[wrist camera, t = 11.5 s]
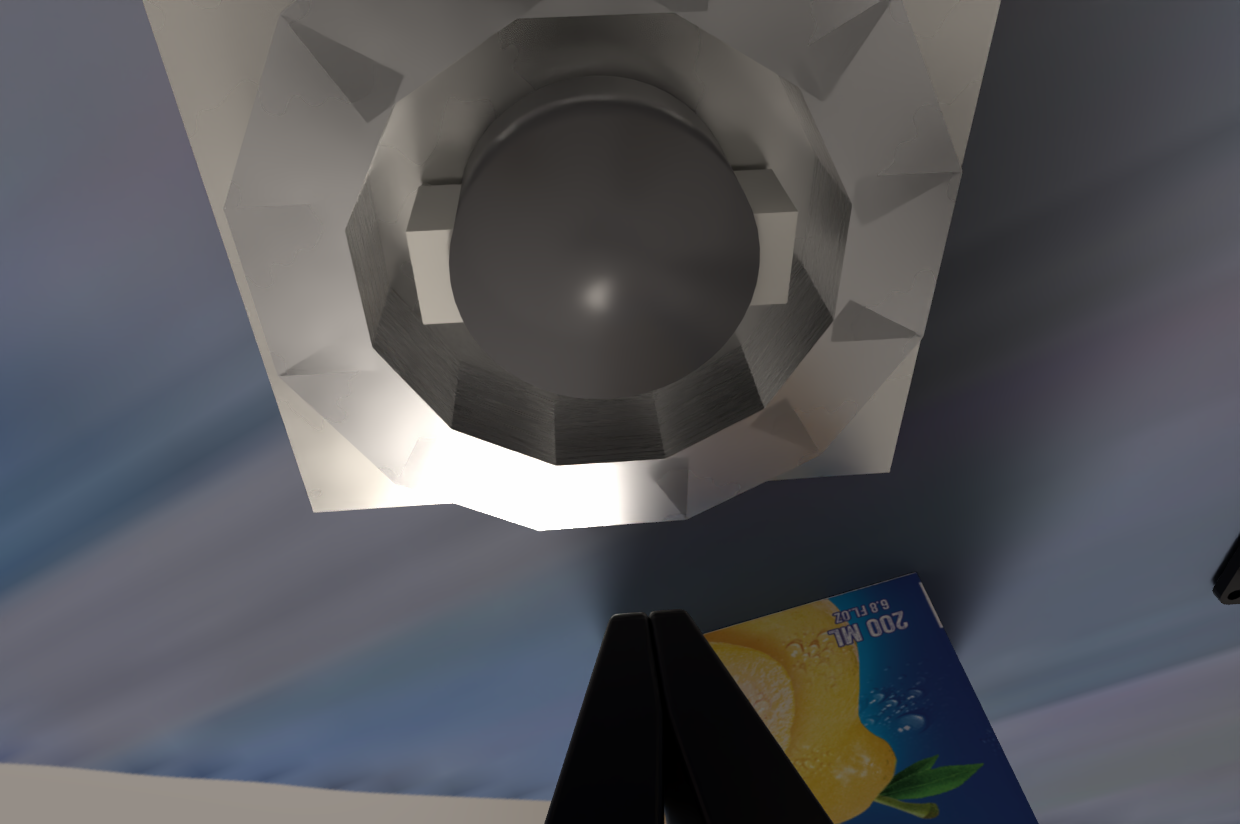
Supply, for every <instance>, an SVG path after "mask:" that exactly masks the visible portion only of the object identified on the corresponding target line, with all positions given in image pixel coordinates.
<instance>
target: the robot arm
mask: <svg viewBox="0 0 1240 824" xmlns="http://www.w3.org/2000/svg"><path fill="white" fill-rule="evenodd" d="M1212 591H1213V594H1214V595H1215V596H1216V597H1217V598H1218V600H1219V601H1220V602H1221V603H1223V604H1228V605H1230V604H1240V545H1239V547H1238V548H1237V550H1236V552H1235V553H1234V555H1233V556H1232V558H1231V560H1230V561H1229V563H1228V565H1227V566H1226V568H1225V569H1224V571H1223V573H1222V574H1221V576H1220V577H1219V579H1218V581H1217V582H1216V584H1215V586H1214V587H1213V590H1212ZM664 813H665V818H666V823H667V824H834V823H833V822H832V820H831V819H830V817H829V816H828V814H827V813H826V811H825V810H824V809H823V807H822V806H821V804H820V803H819V801H818V800H817V798H816V797H815V796H814V794H813V793H812V791H811V790H810V788H809V787H808V785H807V784H806V783H805V781H804V780H803V778H802V777H801V775H800V774H799V772H798V771H797V770H796V768H795V767H794V765H793V764H792V762H791V761H790V759H789V758H788V757H787V755H786V754H785V752H784V751H783V749H782V748H781V746H780V745H779V744H778V742H777V741H776V739H775V738H774V736H773V735H772V733H771V732H770V731H769V729H768V728H767V726H766V725H765V723H764V722H763V720H762V719H761V718H760V716H759V715H758V713H757V712H756V710H755V709H754V707H753V706H752V705H751V703H750V702H749V700H748V699H747V697H746V696H745V694H744V693H743V692H742V690H741V689H740V687H739V686H738V684H737V683H736V681H735V680H734V679H733V677H732V676H731V674H730V673H729V671H728V670H727V668H726V667H725V666H724V664H723V663H722V661H721V660H720V658H719V657H718V655H717V654H716V653H715V651H714V650H713V648H712V647H711V645H710V644H709V642H708V641H707V639H706V638H705V637H704V635H703V634H702V632H701V631H700V629H699V628H698V626H697V625H696V624H695V622H694V621H693V619H692V618H691V616H690V615H689V614H688V613H687V612H686V611H685V610H682V609H672V610H660V611H653V612H651V613H650V615H649V617H648V616H647V615H646V614H645V613H643V612H635V613H623V614H615V615H613V616H612V617H611V618H610V620H609V622H608V625H607V628H606V631H605V635H604V638H603V641H602V644H601V647H600V650H599V653H598V657H597V660H596V663H595V666H594V669H593V672H592V675H591V679H590V682H589V685H588V688H587V691H586V694H585V697H584V701H583V704H582V707H581V710H580V713H579V716H578V719H577V723H576V726H575V729H574V732H573V735H572V738H571V741H570V745H569V748H568V751H567V754H566V757H565V760H564V763H563V767H562V770H561V773H560V776H559V779H558V782H557V785H556V789H555V792H554V795H553V798H552V801H551V804H550V808H549V811H548V814H547V817H546V820H545V824H664Z"/></svg>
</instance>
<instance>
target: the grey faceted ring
mask: <svg viewBox="0 0 1240 824" xmlns="http://www.w3.org/2000/svg"><path fill="white" fill-rule="evenodd" d="M142 1H143V4H144V7H145V10H146V13H147V15H148V18H149V21H150V24H151V27H152V30H153V33H154V36H155V39H156V42H157V45H158V48H159V51H160V54H161V57H162V60H163V63H164V66H165V69H166V72H167V75H168V78H169V81H170V84H171V87H172V90H173V93H174V96H175V99H176V102H177V105H178V108H179V111H180V114H181V117H182V120H183V123H184V126H185V129H186V132H187V135H188V138H189V141H190V144H191V147H192V150H193V153H194V156H195V159H196V162H197V165H198V168H199V171H200V174H201V177H202V180H203V183H204V186H205V189H206V192H207V195H208V198H209V201H210V204H211V207H212V210H213V213H214V216H215V219H216V222H217V225H218V228H219V231H220V234H221V237H222V240H223V243H224V246H225V249H226V252H227V255H228V258H229V261H230V264H231V267H232V270H233V273H234V276H235V279H236V282H237V285H238V288H239V291H240V293H241V296H242V299H243V302H244V305H245V308H246V311H247V314H248V317H249V320H250V323H251V326H252V329H253V332H254V335H255V338H256V341H257V344H258V347H259V350H260V353H261V356H262V359H263V362H264V365H265V368H266V371H267V374H268V377H269V380H270V383H271V386H272V389H273V392H274V395H275V398H276V401H277V404H278V407H279V410H280V413H281V416H282V419H283V422H284V425H285V428H286V431H287V434H288V437H289V440H290V443H291V446H292V449H293V452H294V455H295V458H296V461H297V464H298V467H299V470H300V473H301V476H302V479H303V482H304V485H305V488H306V491H307V494H308V497H309V500H310V503H311V506H312V509H313V512H328V511H343V510H357V509H371V508H385V507H400V506H414V505H428V504H443V503H456V504H459V505H462V506H465V507H468V508H471V509H474V510H477V511H480V512H483V513H487V514H490V515H493V516H496V517H499V518H502V519H505V520H508V521H511V522H514V523H518V524H521V525H524V526H527V527H530V528H533V529H536V530H552V529H566V528H580V527H593V526H607V525H621V524H635V523H649V522H663V521H677V520H687V519H689V518H691V517H693V516H695V515H697V514H699V513H702V512H704V511H706V510H708V509H710V508H712V507H714V506H716V505H718V504H720V503H722V502H724V501H726V500H729V499H731V498H733V497H735V496H737V495H739V494H741V493H743V492H745V491H747V490H749V489H751V488H753V487H756V486H758V485H760V484H762V483H764V482H766V481H772V480H786V479H801V478H815V477H829V476H844V475H858V474H872V473H887V472H890V468H891V464H892V460H893V455H894V451H895V447H896V443H897V438H898V434H899V430H900V426H901V422H902V417H903V413H904V409H905V405H906V400H907V396H908V392H909V388H910V383H911V379H912V375H913V371H914V367H915V362H916V358H917V354H918V350H919V345H920V341H921V339H922V338H923V336H924V332H925V328H926V324H927V319H928V315H929V311H930V307H931V303H932V298H933V294H934V290H935V286H936V282H937V277H938V273H939V269H940V265H941V260H942V256H943V252H944V248H945V244H946V239H947V235H948V231H949V227H950V223H951V218H952V214H953V210H954V206H955V202H956V197H957V193H958V189H959V185H960V181H961V176H962V172H963V171H962V169H961V168H962V163H963V159H964V155H965V151H966V146H967V142H968V138H969V134H970V130H971V125H972V121H973V117H974V113H975V108H976V104H977V100H978V96H979V91H980V87H981V83H982V79H983V74H984V70H985V66H986V62H987V58H988V53H989V49H990V45H991V41H992V36H993V32H994V28H995V24H996V19H997V15H998V11H999V7H1000V3H1001V0H142ZM584 76H616V77H622V78H628V79H633V80H637V81H640V82H643V83H646V84H650V85H652V86H654V87H656V88H659V89H661V90H663V91H665V92H667V93H669V94H671V95H672V96H674V97H675V98H677V99H678V100H680V101H681V102H683V103H684V104H685V105H687V106H688V107H689V108H690V109H691V110H692V111H693V112H695V113H696V114H697V115H698V116H699V117H700V118H701V119H702V121H703V122H704V123H705V124H706V125H707V126H708V128H709V129H710V130H711V132H712V133H713V135H714V136H715V138H716V140H717V141H718V143H719V144H720V146H721V148H722V150H723V152H724V154H725V156H726V158H727V160H728V162H729V164H730V166H731V168H732V169H733V171H742V170H762V169H772V170H773V172H774V173H775V175H776V177H777V178H778V180H779V182H780V183H781V185H782V186H783V188H784V190H785V191H786V193H787V195H788V196H789V198H790V199H791V201H792V203H793V204H794V206H795V208H796V209H797V211H798V216H797V224H796V232H795V241H794V249H793V258H792V266H791V275H790V283H789V292H788V300H787V303H786V304H769V305H752V306H749V307H748V309H747V311H746V314H745V316H744V318H743V319H742V321H741V323H740V324H739V326H738V327H737V329H736V331H735V332H734V333H733V335H732V336H731V337H730V338H729V340H728V341H727V342H726V343H725V345H724V346H723V347H722V348H721V349H720V350H719V351H718V352H717V353H716V354H715V355H714V356H713V357H712V358H711V359H709V360H708V361H707V362H706V363H704V364H703V365H702V366H700V367H699V368H698V369H696V370H695V371H693V372H692V373H690V374H688V375H687V376H685V377H683V378H682V379H680V380H678V381H676V382H674V383H671V384H669V385H667V386H665V387H663V388H660V389H657V390H654V391H651V392H648V393H644V394H640V395H635V396H631V397H624V398H616V399H584V398H574V397H569V396H564V395H559V394H555V393H552V392H549V391H546V390H543V389H540V388H538V387H535V386H533V385H531V384H529V383H527V382H524V381H522V380H521V379H519V378H517V377H516V376H514V375H513V374H511V373H509V372H508V371H506V370H505V369H504V368H503V367H501V366H500V365H499V364H497V363H496V362H495V361H494V360H493V359H492V358H491V357H490V356H489V355H488V354H487V353H486V352H485V351H484V350H483V349H482V348H481V347H480V346H479V344H478V343H477V342H476V341H475V339H474V338H473V337H472V335H471V334H470V332H469V331H468V329H467V327H466V325H465V323H464V322H457V323H440V324H423V321H422V316H421V311H420V305H419V300H418V295H417V289H416V284H415V279H414V274H413V268H412V263H411V258H410V252H409V247H408V242H407V236H406V229H407V225H408V222H409V219H410V215H411V212H412V208H413V205H414V201H415V198H416V194H417V191H418V187H419V186H434V185H455V184H462V179H463V175H464V172H465V169H466V166H467V163H468V161H469V158H470V156H471V154H472V152H473V150H474V148H475V146H476V144H477V143H478V141H479V139H480V138H481V137H482V135H483V134H484V133H485V131H486V130H487V128H488V127H489V126H490V125H491V124H492V123H493V122H494V121H495V120H496V118H497V117H498V116H499V115H500V114H501V113H502V112H503V111H505V110H506V109H507V108H509V107H510V106H511V105H512V104H514V103H515V102H516V101H518V100H519V99H521V98H523V97H524V96H526V95H528V94H529V93H531V92H533V91H535V90H537V89H539V88H542V87H544V86H547V85H549V84H552V83H554V82H558V81H562V80H566V79H570V78H575V77H584Z"/></svg>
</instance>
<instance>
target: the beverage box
mask: <svg viewBox="0 0 1240 824" xmlns="http://www.w3.org/2000/svg"><path fill="white" fill-rule="evenodd" d="M703 635H704V637H705V638H706V639H707V641H708V642H709V644H710V645H711V647H712V648H713V650H714V651H715V653H716V654H717V655H718V657H719V658H720V660H721V661H722V663H723V664H724V666H725V667H726V668H727V670H728V671H729V673H730V674H731V676H732V677H733V679H734V680H735V681H736V683H737V684H738V686H739V687H740V689H741V690H742V692H743V693H744V694H745V696H746V697H747V699H748V700H749V702H750V703H751V705H752V706H753V707H754V709H755V710H756V712H757V713H758V715H759V716H760V718H761V719H762V720H763V722H764V723H765V725H766V726H767V728H768V729H769V731H770V732H771V733H772V735H773V736H774V738H775V739H776V741H777V742H778V744H779V745H780V746H781V748H782V749H783V751H784V752H785V754H786V755H787V757H788V758H789V759H790V761H791V762H792V764H793V765H794V767H795V768H796V770H797V771H798V772H799V774H800V775H801V777H802V778H803V780H804V781H805V783H806V784H807V785H808V787H809V788H810V790H811V791H812V793H813V794H814V796H815V797H816V798H817V800H818V801H819V803H820V804H821V806H822V807H823V809H824V810H825V811H826V813H827V814H828V816H829V817H830V819H831V820H832V822H833V823H834V824H1038V822H1037V819H1036V817H1035V815H1034V813H1033V811H1032V809H1031V807H1030V805H1029V803H1028V801H1027V799H1026V797H1025V795H1024V793H1023V791H1022V789H1021V786H1020V784H1019V782H1018V780H1017V778H1016V776H1015V774H1014V772H1013V770H1012V768H1011V766H1010V764H1009V762H1008V760H1007V758H1006V756H1005V754H1004V751H1003V749H1002V747H1001V745H1000V743H999V741H998V739H997V737H996V735H995V733H994V731H993V729H992V727H991V725H990V723H989V721H988V718H987V716H986V714H985V712H984V710H983V708H982V706H981V704H980V702H979V700H978V698H977V696H976V694H975V692H974V690H973V688H972V685H971V683H970V681H969V679H968V677H967V675H966V673H965V671H964V669H963V667H962V665H961V663H960V661H959V659H958V657H957V655H956V652H955V650H954V648H953V646H952V644H951V642H950V640H949V638H948V636H947V634H946V632H945V630H944V628H943V626H942V624H941V622H940V620H939V617H938V615H937V613H936V611H935V609H934V607H933V605H932V603H931V601H930V599H929V597H928V595H927V593H926V591H925V589H924V587H923V584H922V582H921V580H920V578H919V576H918V574H917V572H914V573H911V574H907V575H904V576H900V577H897V578H893V579H890V580H887V581H883V582H880V583H876V584H873V585H869V586H866V587H863V588H859V589H856V590H852V591H849V592H845V593H842V594H839V595H835V596H832V597H828V598H825V599H821V600H818V601H814V602H811V603H808V604H804V605H801V606H797V607H794V608H790V609H787V610H784V611H780V612H777V613H773V614H770V615H766V616H763V617H760V618H756V619H753V620H749V621H746V622H742V623H739V624H735V625H732V626H729V627H725V628H722V629H718V630H715V631H711V632H708V633H705V634H703ZM664 824H667V823H666V818H665V813H664Z"/></svg>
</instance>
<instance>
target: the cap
mask: <svg viewBox="0 0 1240 824" xmlns="http://www.w3.org/2000/svg"><path fill="white" fill-rule="evenodd" d="M797 216H798V211H797V209H796V208H795V206H794V204H793V203H792V201H791V199H790V198H789V196H788V195H787V193H786V191H785V190H784V188H783V186H782V185H781V183H780V182H779V180H778V178H777V177H776V175H775V173H774V172H773V170H772V169H762V170H742V171H733V169H732V168H731V166H730V164H729V162H728V160H727V158H726V156H725V154H724V152H723V150H722V148H721V146H720V144H719V143H718V141H717V140H716V138H715V136H714V135H713V133H712V132H711V130H710V129H709V128H708V126H707V125H706V124H705V123H704V122H703V121H702V119H701V118H700V117H699V116H698V115H697V114H696V113H695V112H693V111H692V110H691V109H690V108H689V107H688V106H687V105H685V104H684V103H683V102H681V101H680V100H678V99H677V98H675V97H674V96H672V95H671V94H669V93H667V92H665V91H663V90H661V89H659V88H656V87H654V86H652V85H650V84H646V83H643V82H640V81H637V80H633V79H628V78H622V77H616V76H584V77H575V78H570V79H566V80H562V81H558V82H554V83H552V84H549V85H547V86H544V87H542V88H539V89H537V90H535V91H533V92H531V93H529V94H528V95H526V96H524V97H523V98H521V99H519V100H518V101H516V102H515V103H514V104H512V105H511V106H510V107H509V108H507V109H506V110H505V111H503V112H502V113H501V114H500V115H499V116H498V117H497V118H496V120H495V121H494V122H493V123H492V124H491V125H490V126H489V127H488V128H487V130H486V131H485V133H484V134H483V135H482V137H481V138H480V139H479V141H478V143H477V144H476V146H475V148H474V150H473V152H472V154H471V156H470V158H469V161H468V163H467V166H466V169H465V172H464V175H463V179H462V184H455V185H434V186H419V187H418V191H417V194H416V198H415V201H414V205H413V208H412V212H411V215H410V219H409V222H408V225H407V229H406V236H407V242H408V247H409V252H410V258H411V263H412V268H413V274H414V279H415V284H416V289H417V295H418V300H419V305H420V311H421V316H422V321H423V324H440V323H457V322H464V323H465V325H466V327H467V329H468V331H469V332H470V334H471V335H472V337H473V338H474V339H475V341H476V342H477V343H478V344H479V346H480V347H481V348H482V349H483V350H484V351H485V352H486V353H487V354H488V355H489V356H490V357H491V358H492V359H493V360H494V361H495V362H496V363H497V364H499V365H500V366H501V367H503V368H504V369H505V370H506V371H508V372H509V373H511V374H513V375H514V376H516V377H517V378H519V379H521V380H522V381H524V382H527V383H529V384H531V385H533V386H535V387H538V388H540V389H543V390H546V391H549V392H552V393H555V394H559V395H564V396H569V397H574V398H584V399H616V398H624V397H631V396H635V395H640V394H644V393H648V392H651V391H654V390H657V389H660V388H663V387H665V386H667V385H669V384H671V383H674V382H676V381H678V380H680V379H682V378H683V377H685V376H687V375H688V374H690V373H692V372H693V371H695V370H696V369H698V368H699V367H700V366H702V365H703V364H704V363H706V362H707V361H708V360H709V359H711V358H712V357H713V356H714V355H715V354H716V353H717V352H718V351H719V350H720V349H721V348H722V347H723V346H724V345H725V343H726V342H727V341H728V340H729V338H730V337H731V336H732V335H733V333H734V332H735V331H736V329H737V327H738V326H739V324H740V323H741V321H742V319H743V318H744V316H745V314H746V311H747V309H748V307H749V306H752V305H769V304H786V303H787V300H788V292H789V283H790V275H791V266H792V258H793V249H794V241H795V232H796V224H797Z"/></svg>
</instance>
